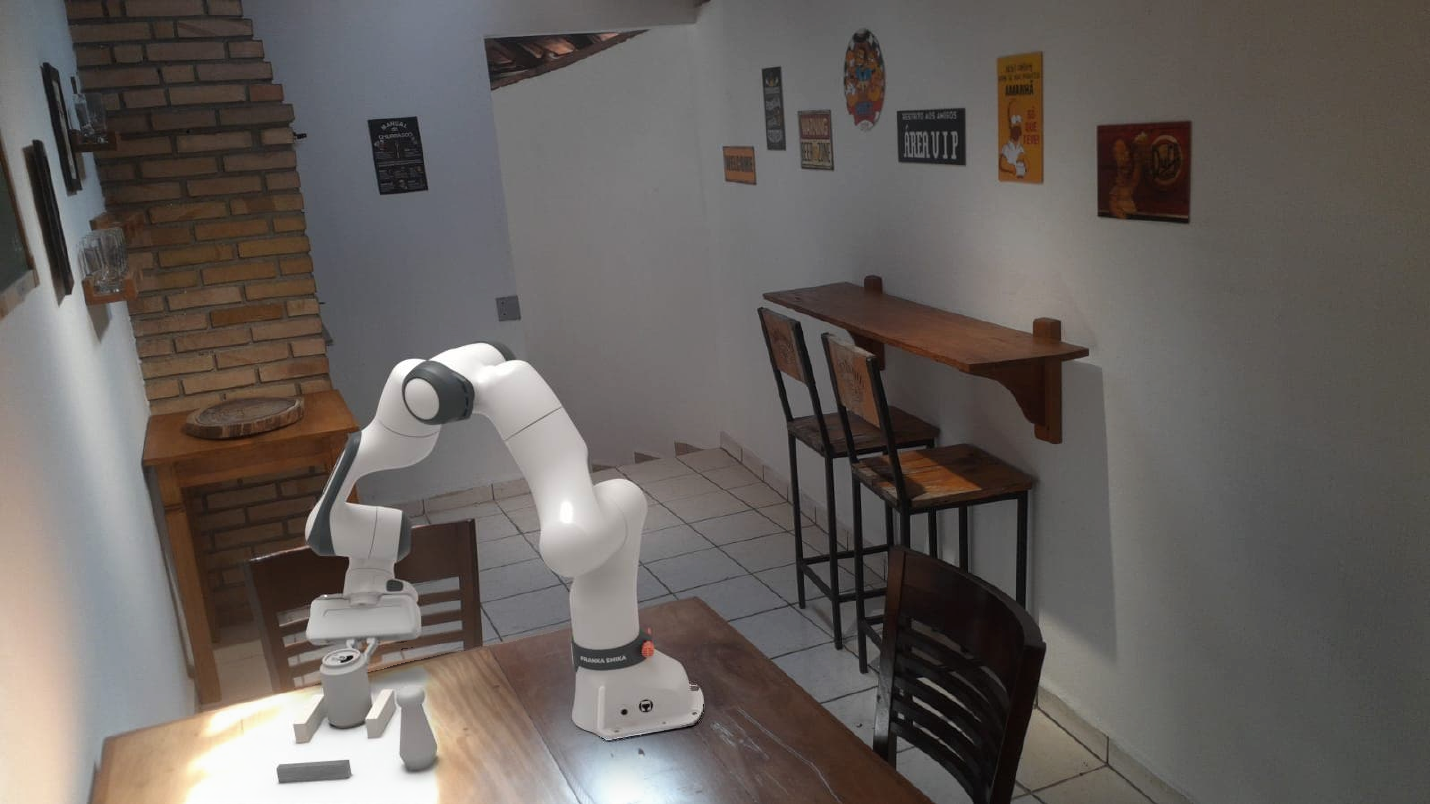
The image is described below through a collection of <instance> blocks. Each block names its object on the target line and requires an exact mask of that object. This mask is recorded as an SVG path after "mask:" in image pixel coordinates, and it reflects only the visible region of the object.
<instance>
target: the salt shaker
mask: <svg viewBox="0 0 1430 804" xmlns="http://www.w3.org/2000/svg"><path fill="white" fill-rule="evenodd" d="M425 698H426V693H425V690H424V689H423V687H422V686H420V685H417V684H410V685H406V686H403V687H402V688H400V689H399V690H398V692H397V693H396V694H395V702H396V705H398V707H399V708H400V709H401V710H400V728H399V729H400V732H399V751H398V752H399V753H398V754H399V757H400V759H401V760H402V762H403V763H404V765H405V766H406V768H408V769H410V770H411V771H421V770H426V769H427V768H429V767H430V766H432V765H433V764H434V761H435V759H436V755H437V751H438V744H437V742H436V738H435V736H434V733H433V731H432V728H431V726H430V722H429V719H428V717H427V715H426V713H425V709H424V706H423V703H424V702H425Z"/></svg>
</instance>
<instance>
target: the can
mask: <svg viewBox="0 0 1430 804" xmlns="http://www.w3.org/2000/svg"><path fill="white" fill-rule="evenodd" d="M360 653H361V651H360V650H359V649H357V648H354V649H352V648H348V647H346V648H341V649H337V650H334V651H331V652H329V653H327V654H325V656H324V657H323V658H322V659H321V663H322V664H321V665H320V666H319V675H320V681H321V686H322V687H321V688H322V694H324V700H325V706H326V712H327V714H326V718H327V721H328V722H329V724H331V725H333V726H335V727H337V728H343V729H344V728H351V727H355V726H359V725H361V724H363V723H364V722H365V719H366V717H367V715H368V713H369V712H370V710H371V708H372V706H373V702H372V696H371V695H372V693H371V689H370V682H369V677H368V676H369V675H368V668H367V665H366V661H365V658H364V657H363V656H361V655H360Z"/></svg>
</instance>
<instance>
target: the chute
mask: <svg viewBox="0 0 1430 804" xmlns="http://www.w3.org/2000/svg"><path fill="white" fill-rule="evenodd" d="M396 708H397V702H396V696H395V691H394V688H391V689H381V691H380V693H379V694H378V696H377V698H376V699H375V700H374V703H373V704H372V708H371V710H370V712H369V713H368V715H367V717H366V719H365V721H364V722H365V725H366V726H365V728H366V735H367V738H368V739H373V738H375V739H376V738H381V736H382V734H383V732H385V728H386V727H387V725H388V723H389V721H390V719H391V717H392V715H393V713H394V712H395V710H396ZM326 717H327V712H326V706H325V700H324V694H323V693H319V694H318V693H317V694H315V693H314V694H313V695H312V697H311V698H310V699H309V701H308V702H307V703H306V705H305V707H304V708H303V710H302V711H301V712H300V714H298V717H297V718H296V719H295V721H294V722H293V724H292V725H293V731H294V738H295V743H296V744H300V743H301V744H302V743H303V744H305V743H309V742H310V740H311V739H312V738H313V735H314V734H315V733H316V731H317V730H318V728H319V726H320V725H321V723H322V722H323V720H324V719H325V718H326Z"/></svg>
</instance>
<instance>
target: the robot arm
mask: <svg viewBox="0 0 1430 804" xmlns="http://www.w3.org/2000/svg"><path fill="white" fill-rule="evenodd" d="M473 414H478V415H482V416H485V417H486V418H487V419H489V420H490V421H491V423H492V424H493V426H494V427H495V429H496V431H497V432H498V434H499V436H500V437H501V439H502V441H503V442H504V444H505V446H506V447H507V449H508V451H509V452H510V455H511V456H512V458H513V459H514V461H515V462H516V464H517V466H518V468H519V470H520V471H521V473H522V475H523V476H524V478H525V480H526V482H527V484H528V486H529V489H530V491H531V492H530V493H531V494H532V497H533V500H534V503H535V507H536V511H537V515H538V519H539V525H540V536H539V542H538V544H539V546H538V547H539V551H540V552H539V553H540V555H541V558H542V561H543V562H544V563H545V565H546V566H547V567H548V569H550V570H551V571H552V572H554V573H555V574H557V575H559V576H561V577H564V578H573V581H572V583H571V587H570V590H569V607H570V609H569V610H570V617H571V618H570V619H571V626H572V627H571V628H572V637H571V641H570V651H571V662H572V666H573V671H574V672H575V691H574V692H575V693H574V699H573V700H574V701H573V707H572V712H571V719H572V721H573V723H574V724H575V725H576V726H577V727H578V728H580V729H582V730H584V731H588V732H590V733H593V734H596V735H597V736H598V737H599V736H600V737H599V738H601V737H602V738H604V739H614V738H617V737H625V736H628V735H634V734H639V733H644V732H648V731H653V730H658V729H661V728H670V727H676V726H681V725H686V724H690V723H693V722H694V721H695V720H697V719H698V718H699V716H700V715H701V712H702V711H703V704H704V705H705V700H704V699H705V697H704V694H703V691H702V689H701V687H699V690H698V691H691V689H690V688H691V687H690V686H698V685H697V684H696V685H691V684H689V682H690V681H689V678H688V675H687V673H686V670H685V668H684V666H683V665H682V664H681V662H679V660H678V661H677V660H676V659H674V658H672V657H670V656H668V655H666V653H665V654H664V653H662V652H660V651H659V650H657V649H655V645H654V640H653V635H652V634H651V633H652V631H651V628H650V627H648V628H647V631H646V630H644V629H643V628H641V627H640V622H639V609H638V608H639V607H638V597H637V581H638V580H637V579H638V570H639V569H638V568H639V562H640V561H639V560H640V553H641V552H640V551H641V541H642V532H643V528H644V523H645V520H646V518H647V513H648V501H647V499H646V496H645V494H644V492H643V491H642V490H641V488H640V487H639V486H638V485H637V484H635V483H634V482H632V481H630V480H628V479H625V478H614V479H612V478H611V479H609V480H605V481H601V482H598V483H597V484H594V485H593V481H592V478H591V474H590V471H589V465H588V464H589V463H588V458H589V457H588V456H589V452H588V451H589V450H588V447H587V444H586V441H585V440H584V438H583V437H582V435H581V434H580V432H579V431H578V429H577V427H576V426H575V424H574V422H573V421H572V419H571V418H570V416H569V414H568V413H567V411H566V409H565V408H564V407H563V405H562V403H561V401H560V399H559V398H558V397H557V395H556V394H555V393H554V390H552V388H551V387H550V386H549V385H548V383H547V382H546V381H545V380H544V378H543V377H542V376H541V374H540V373H539V372H538V371H537V370H536V369H535V368H534V367H533V366H532V365H531V364H530V363H528V362H527V361H524V360H520V359H517V357H516V356H515V354H514V353H513V351H512V350H511V349H510V347H508V346H507V345H506V344H505V343H503V342H502V341H498V340H495V339H482V340H481V339H480V340H477V341H473V342H470V343H469V344H466V345H463V346H460V347H456V348H451V349H448V350H445V351H443V352H440V353H439V354H436V356H433V357H431V358H430V359H428V360H426V359H421V358H409V359H405V360H402V361H400V362H399V363H398V364H396V365H395V366H394V367H393V369H392V370H391V372H390V373H389V376H388V378H387V381H386V382H385V384H384V387H383V389H382V393H381V396H380V399H379V402H378V406H377V409H376V413H375V416H374V418H373V419H372V421H371V422H370V423H369V424H368V425H367V426H366V427H365V428H364V429H362V430H359V431H356V432H354V433H352V435H350V437H349V438H348V439H347V441H346V443H345V444H344V447H343V448H342V450H341V452H340V455H339V456H338V458H337V460H336V462H335V464H334V465H333V469H332V471H331V474H330V476H329V477H328V479H327V482H326V484H325V486H324V488H323V490H322V493H321V494H320V496H319V498H318V499H317V502H316V503H315V505H314V507H313V509H312V511H311V512H310V513H309V515H308V518H307V519H306V520H307V521H306V524H305V529H304V535H305V543H306V544H307V545H308V547H310V549H311V550H312V551H313V552H314V553H315V554H316V555H318V556H319V557H320V556H321V557H338V556H339V557H348V560H349V561H348V562H349V564H348V568H347V570H346V573H345V579H344V587H343V593H334V594H320V595H319V597H316V598H315V599H313V600H312V602H311V605H310V610H309V611H310V612H309V613H310V616H309V618H308V623H307V627H306V630H305V636H306V639H307V640H308V641H309V643H310V644H312V645H314V646H324V645H325V646H326V645H341V644H343V645H344V644H345V645H346V648H352V649H358V645H359V643H366V644H367V645H368V646H367V647H366V649H365V650H364V652H360V655H361V656H363V657H364V658H365V661H366V666H369V665H370V662H371V656H372V655H373V654H374V652H375V651H376V649H377V648H378V647H379V646H378V645H379V642H392V641H403V640H404V641H405V640H406V641H407V640H415V639H417V638H418V637H420V634H421V631H422V615H421V614H422V613H421V609H420V606H419V605H418V601H419V595H418V592H417V590H416V589H415V587H414V586H413V585H412V583H410V582H408V581H406V580H402V579H398V578H395V572H394V571H395V570H394V568H395V567H394V566H395V563H396V564H397V563H398V562H400V561H402V560H403V559H404V558H405V557H407V556H408V555H409V554H410V553H411V543H412V542H411V541H412V529H413V524H414V523H413V521H412V519H411V518H410V516H409V515H408V514H407V513H406V512H405V511H404V510H401V509H397V508H392V507H385V506H382V505H381V506H380V505H379V506H378V505H377V506H376V505H374V506H373V505H366V504H359V503H351V502H347V500H348V499H349V498H348V497H349V495H350V494H351V491H352V490H353V488H354V485H355V484H356V482H357V481H358V480H359V479H360V478H362V477H363V476H365V475H368V474H371V473H374V472H379V471H387V470H391V469H392V470H394V469H402V468H406V467H410V466H413V465H416V464H417V463H419V462H421V461H422V460H425V458H426V457H428V456H429V455H430V454H431V453H432V451H433V449H434V447H435V445H436V443H437V441H438V438H439V435H440V431H441V429H442V425H447V424H453V423H457V422H463V421H467V420H469V419H470V418H471V416H472V415H473ZM694 712H696V713H697V714H695V715H693V714H692V713H694ZM602 738H601V739H602ZM604 739H603V740H604Z"/></svg>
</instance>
